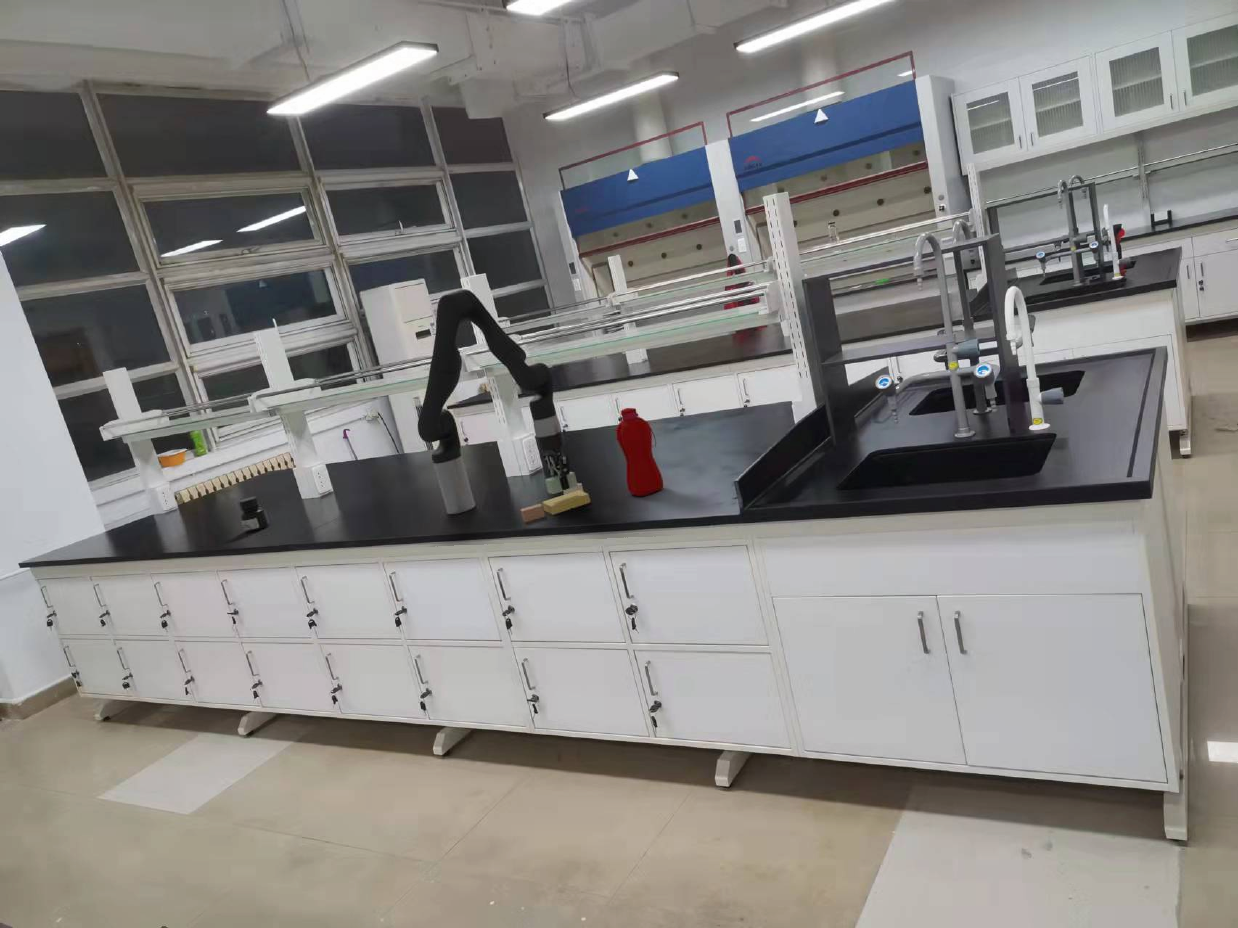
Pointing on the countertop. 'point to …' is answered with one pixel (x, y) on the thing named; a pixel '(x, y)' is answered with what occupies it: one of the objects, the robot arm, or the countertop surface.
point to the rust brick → (532, 512)
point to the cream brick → (574, 489)
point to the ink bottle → (252, 514)
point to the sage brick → (555, 485)
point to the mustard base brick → (566, 502)
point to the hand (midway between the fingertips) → (562, 488)
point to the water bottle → (638, 454)
